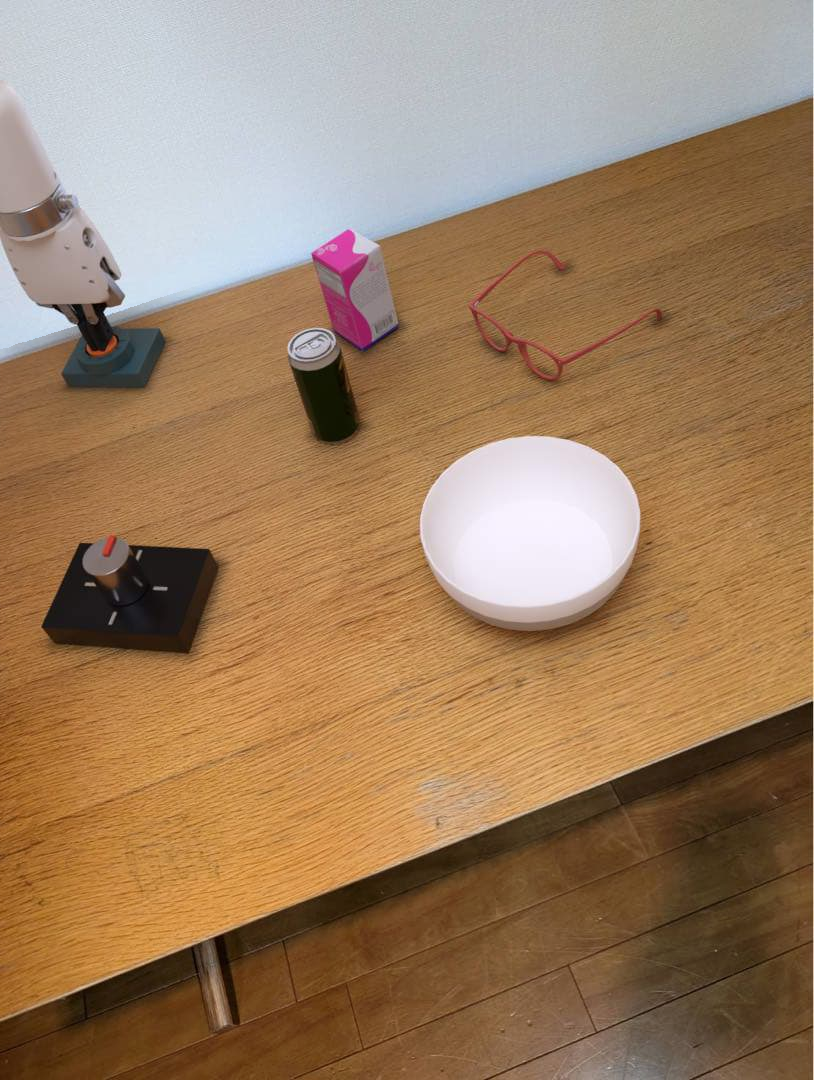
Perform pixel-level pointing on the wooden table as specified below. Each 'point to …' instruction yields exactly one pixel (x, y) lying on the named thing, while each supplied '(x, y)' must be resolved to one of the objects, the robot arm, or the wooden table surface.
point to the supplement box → (356, 289)
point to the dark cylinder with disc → (115, 571)
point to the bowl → (530, 531)
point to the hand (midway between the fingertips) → (102, 342)
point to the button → (109, 349)
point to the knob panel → (135, 603)
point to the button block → (116, 360)
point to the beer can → (324, 385)
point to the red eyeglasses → (523, 342)
